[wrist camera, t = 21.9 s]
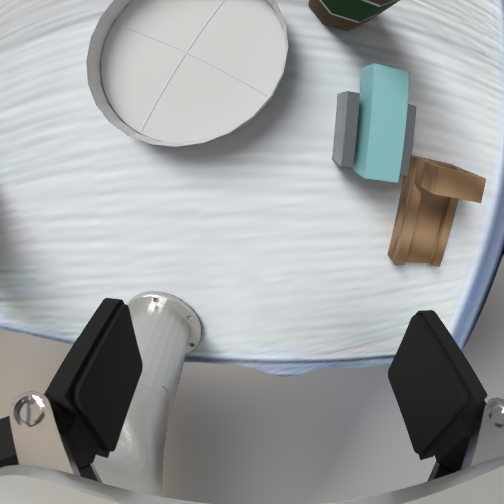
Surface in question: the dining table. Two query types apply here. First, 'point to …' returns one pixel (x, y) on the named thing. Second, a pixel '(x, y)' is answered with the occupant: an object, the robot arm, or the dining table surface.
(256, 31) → the dish
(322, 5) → the beer bottle
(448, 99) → the dining table surface
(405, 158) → the cradle block
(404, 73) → the teal block
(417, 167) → the brown wooden bracket
